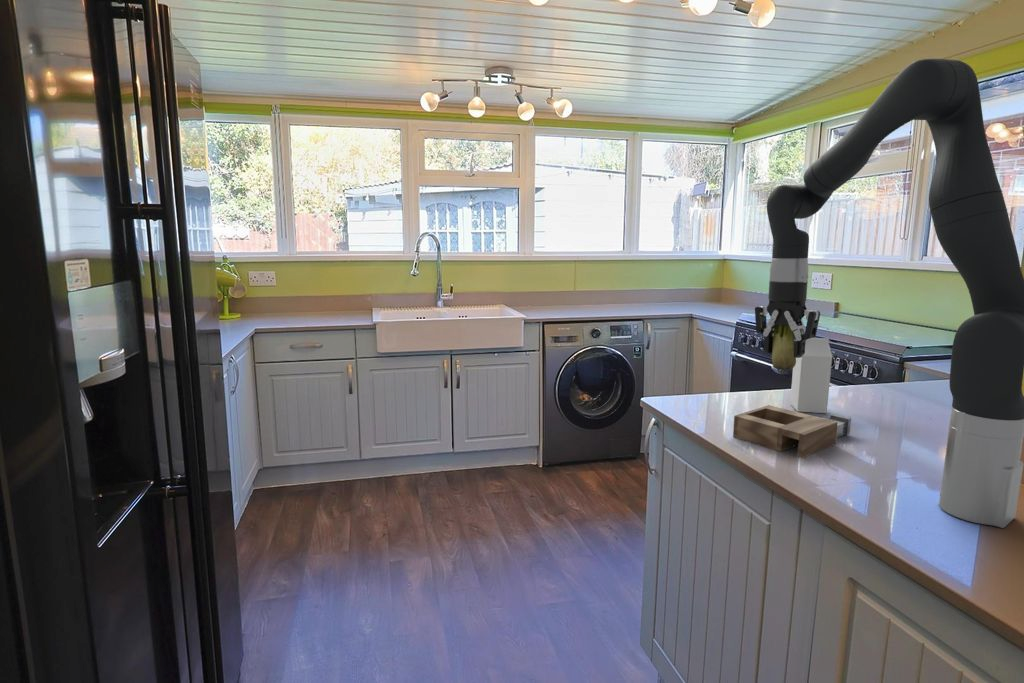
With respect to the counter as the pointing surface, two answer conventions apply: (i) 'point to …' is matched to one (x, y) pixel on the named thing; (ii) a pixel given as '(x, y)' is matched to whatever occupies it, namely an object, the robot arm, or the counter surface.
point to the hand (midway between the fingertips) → (783, 354)
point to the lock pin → (841, 425)
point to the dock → (785, 429)
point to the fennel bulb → (783, 348)
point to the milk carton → (812, 377)
